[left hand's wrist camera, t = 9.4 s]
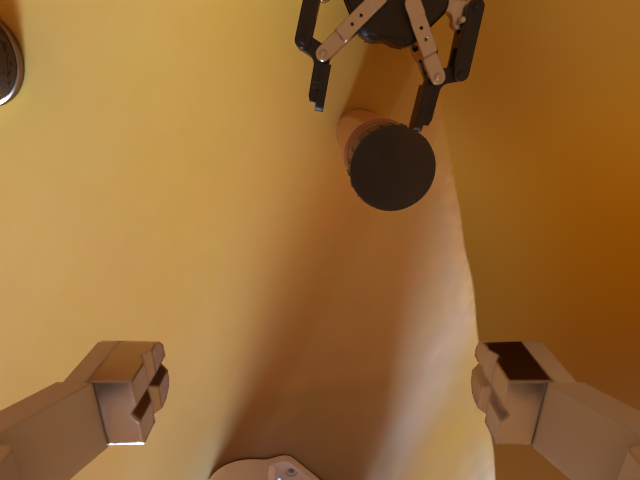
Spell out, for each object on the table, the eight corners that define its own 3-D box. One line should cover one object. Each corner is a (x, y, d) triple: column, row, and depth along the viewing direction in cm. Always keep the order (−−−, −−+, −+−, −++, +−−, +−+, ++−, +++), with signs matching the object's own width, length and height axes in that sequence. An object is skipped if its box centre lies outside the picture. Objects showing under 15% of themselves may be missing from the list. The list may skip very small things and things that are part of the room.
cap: (429, 196, 23) (439, 205, 21) (352, 207, 23) (354, 217, 21) (424, 115, 21) (434, 117, 19) (341, 129, 22) (343, 132, 20)
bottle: (381, 149, 42) (437, 203, 21) (339, 156, 43) (353, 215, 22) (377, 105, 41) (432, 116, 20) (333, 112, 41) (342, 131, 20)
